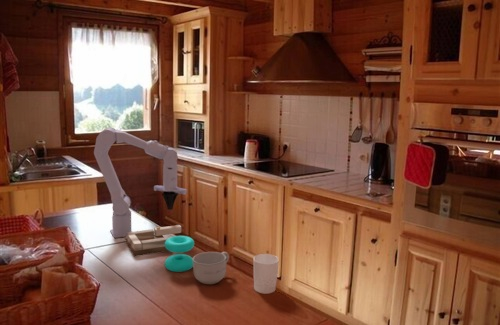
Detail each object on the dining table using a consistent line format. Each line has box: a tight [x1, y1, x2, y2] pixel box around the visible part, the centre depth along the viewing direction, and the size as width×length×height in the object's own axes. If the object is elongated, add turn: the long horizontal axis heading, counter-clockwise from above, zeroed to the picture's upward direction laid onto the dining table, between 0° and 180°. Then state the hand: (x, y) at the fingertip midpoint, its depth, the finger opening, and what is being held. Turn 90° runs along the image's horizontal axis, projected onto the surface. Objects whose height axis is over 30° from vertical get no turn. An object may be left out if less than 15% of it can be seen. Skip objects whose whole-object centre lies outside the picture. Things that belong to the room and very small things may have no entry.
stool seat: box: [125, 228, 170, 257], centre depth 163 cm, size 14×14×4 cm
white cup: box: [252, 253, 280, 295], centre depth 132 cm, size 8×8×10 cm
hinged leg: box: [153, 224, 182, 236], centre depth 172 cm, size 10×2×3 cm, turn 118°
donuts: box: [164, 235, 195, 273], centre depth 145 cm, size 10×10×10 cm
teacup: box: [192, 251, 230, 285], centre depth 138 cm, size 14×11×8 cm
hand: (170, 209), depth 177 cm, fingers closed
